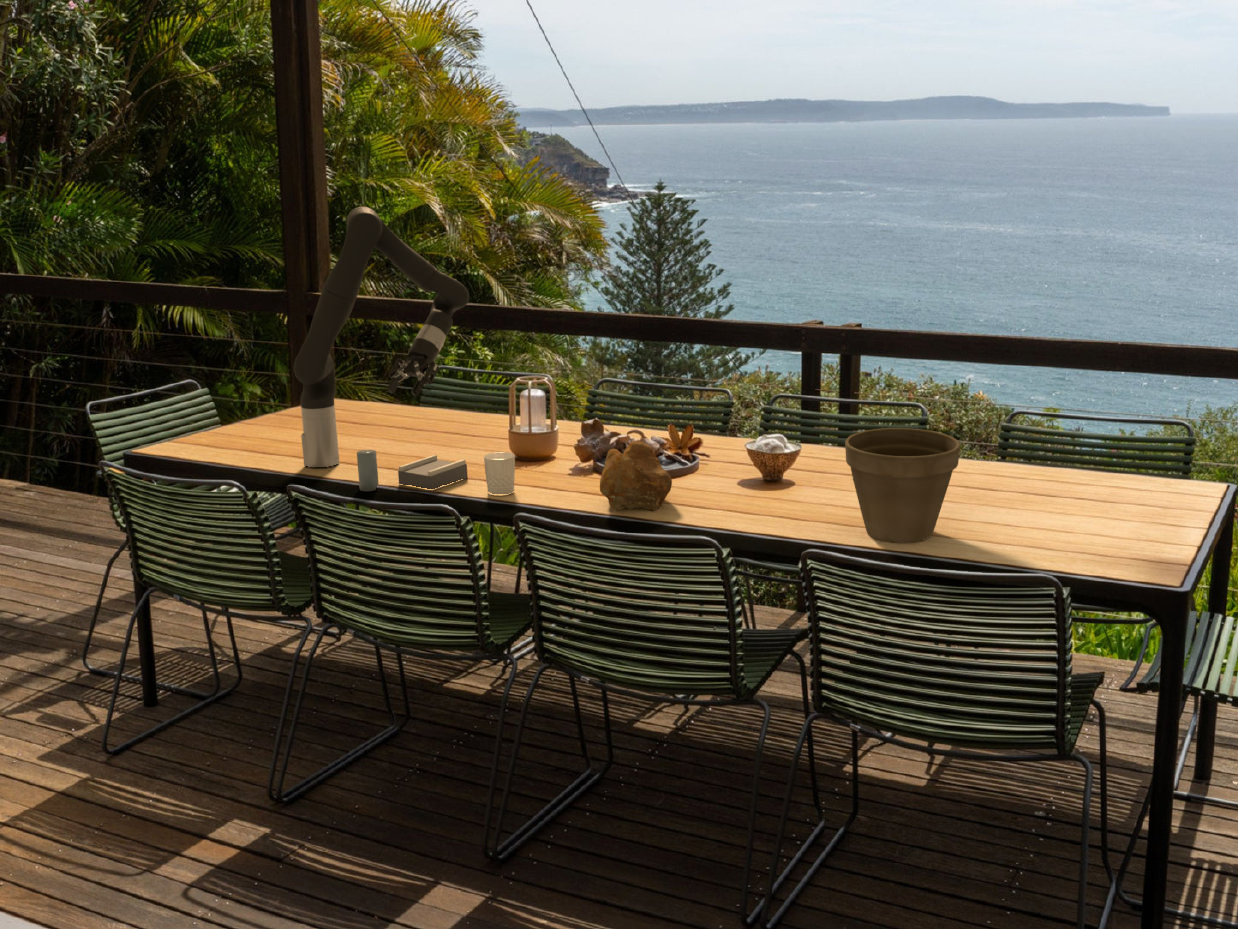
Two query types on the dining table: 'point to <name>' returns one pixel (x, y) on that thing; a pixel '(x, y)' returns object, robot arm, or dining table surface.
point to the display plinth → (432, 472)
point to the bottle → (367, 470)
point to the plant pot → (901, 480)
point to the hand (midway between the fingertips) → (401, 393)
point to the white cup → (500, 472)
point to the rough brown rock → (634, 478)
